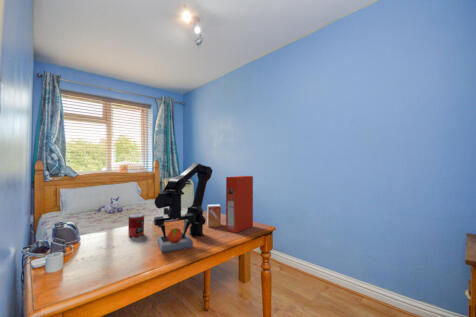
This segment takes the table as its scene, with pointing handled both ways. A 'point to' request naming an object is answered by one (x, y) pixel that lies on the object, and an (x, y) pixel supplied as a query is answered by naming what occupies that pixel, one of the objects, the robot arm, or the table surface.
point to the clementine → (174, 235)
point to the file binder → (239, 203)
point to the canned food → (136, 225)
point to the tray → (174, 244)
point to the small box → (213, 215)
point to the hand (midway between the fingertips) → (174, 236)
